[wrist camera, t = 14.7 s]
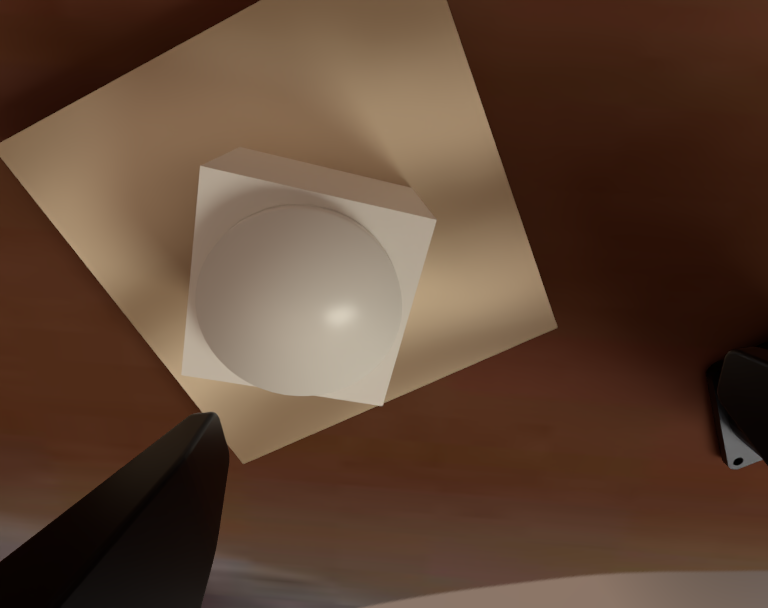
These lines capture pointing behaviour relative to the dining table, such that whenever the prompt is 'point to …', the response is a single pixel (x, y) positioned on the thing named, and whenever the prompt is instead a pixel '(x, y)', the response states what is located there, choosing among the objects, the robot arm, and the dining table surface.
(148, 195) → the stud plate
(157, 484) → the robot arm
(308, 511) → the dining table surface
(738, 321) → the dining table surface
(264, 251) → the white domed square block
